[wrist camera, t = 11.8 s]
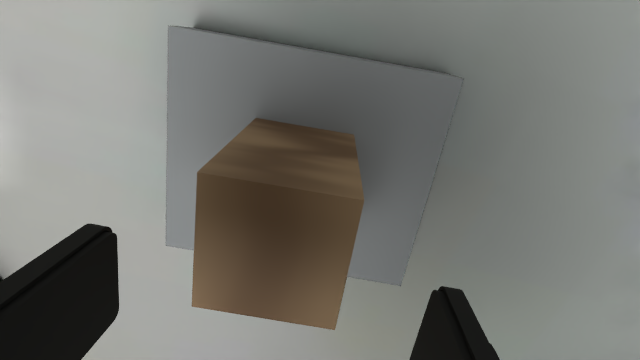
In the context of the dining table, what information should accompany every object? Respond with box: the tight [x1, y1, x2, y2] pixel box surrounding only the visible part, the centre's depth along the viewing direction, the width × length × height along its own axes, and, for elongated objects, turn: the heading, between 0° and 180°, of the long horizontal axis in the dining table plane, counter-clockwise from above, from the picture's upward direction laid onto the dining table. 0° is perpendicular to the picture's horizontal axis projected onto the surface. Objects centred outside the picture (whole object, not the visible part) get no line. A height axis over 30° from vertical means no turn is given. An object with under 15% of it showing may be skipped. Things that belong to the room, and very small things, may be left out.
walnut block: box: [192, 118, 364, 330], centre depth 15 cm, size 5×5×8 cm
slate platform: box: [166, 25, 464, 286], centre depth 20 cm, size 14×12×3 cm
